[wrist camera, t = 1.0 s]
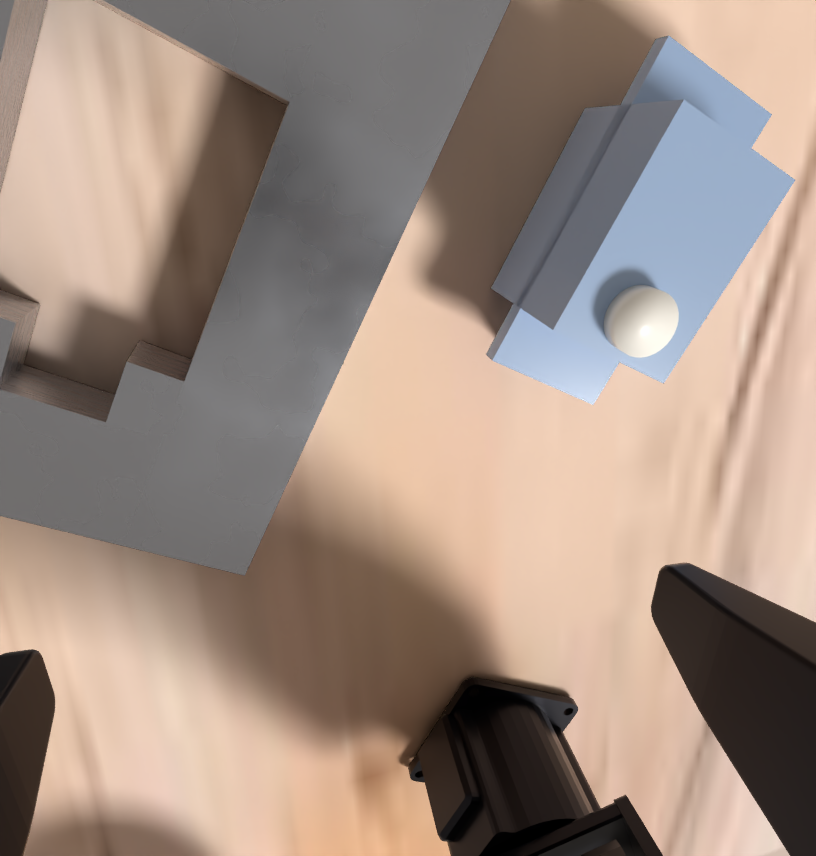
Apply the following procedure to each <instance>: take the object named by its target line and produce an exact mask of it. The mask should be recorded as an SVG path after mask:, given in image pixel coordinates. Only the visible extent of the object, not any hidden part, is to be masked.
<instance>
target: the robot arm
mask: <svg viewBox="0 0 816 856" xmlns="http://www.w3.org/2000/svg"><path fill="white" fill-rule="evenodd" d="M651 612H652V617H653V620H654V623H655V625H656V627H657V629H658V631H659V633H660V635H661V637H662V639H663V641H664V643H665V645H666V647H667V649H668V651H669V653H670V655H671V657H672V659H673V660H674V662H675V664H676V666H677V668H678V670H679V672H680V674H681V676H682V678H683V680H684V682H685V684H686V686H687V688H688V690H689V692H690V694H691V696H692V698H693V700H694V702H695V703H696V705H697V707H698V709H699V711H700V712H701V714H702V716H703V717H704V719H705V721H706V722H707V724H708V726H709V727H710V729H711V731H712V732H713V734H714V735H715V737H716V739H717V740H718V742H719V743H720V745H721V746H722V748H723V750H724V751H725V753H726V754H727V756H728V758H729V759H730V761H731V762H732V764H733V766H734V767H735V769H736V770H737V772H738V773H739V775H740V777H741V778H742V780H743V781H744V783H745V785H746V786H747V788H748V789H749V791H750V793H751V794H752V796H753V797H754V799H755V801H756V802H757V804H758V805H759V807H760V808H761V810H762V812H763V813H764V815H765V816H766V818H767V820H768V821H769V823H770V824H771V826H772V828H773V829H774V831H775V832H776V834H777V836H778V837H779V839H780V840H781V842H782V843H783V845H784V847H785V848H786V850H787V851H788V853H789V855H790V856H816V622H813V621H811V620H809V619H807V618H805V617H803V616H801V615H798V614H796V613H794V612H792V611H790V610H788V609H786V608H784V607H781V606H779V605H777V604H775V603H773V602H771V601H769V600H767V599H764V598H762V597H760V596H758V595H756V594H754V593H752V592H750V591H747V590H745V589H743V588H741V587H739V586H737V585H735V584H733V583H730V582H728V581H726V580H724V579H722V578H720V577H718V576H716V575H713V574H711V573H709V572H707V571H705V570H703V569H701V568H699V567H696V566H694V565H692V564H690V563H678V564H670V565H665V566H663V567H662V568H661V570H660V571H659V574H658V578H657V582H656V587H655V591H654V595H653V600H652V604H651ZM577 711H578V707H577V705H576V703H575V701H574V700H573V699H572V698H569V697H565V696H560V695H555V694H551V693H546V692H541V691H537V690H532V689H527V688H523V687H518V686H513V685H508V684H504V683H499V682H494V681H490V680H485V679H480V678H469V679H467V680H465V681H464V682H463V683H462V685H461V686H460V688H459V689H458V691H457V692H456V694H455V695H454V697H453V699H452V700H451V702H450V703H449V705H448V706H447V708H446V709H445V711H444V712H443V714H442V716H441V717H440V719H439V720H438V722H437V723H436V725H435V726H434V728H433V730H432V731H431V733H430V734H429V736H428V737H427V739H426V740H425V742H424V743H423V745H422V747H421V748H420V750H419V751H418V753H417V754H416V756H415V757H414V759H413V760H412V762H411V764H410V765H409V768H408V769H409V774H410V778H411V779H412V780H413V781H418V782H425V785H426V789H427V793H428V797H429V801H430V805H431V809H432V813H433V817H434V821H435V825H436V829H437V833H438V835H439V837H440V839H441V840H442V841H447V842H448V846H449V850H450V854H451V856H663V855H662V853H661V852H660V850H659V848H658V847H657V845H656V843H655V842H654V840H653V838H652V837H651V835H650V834H649V832H648V830H647V829H646V827H645V825H644V824H643V822H642V820H641V819H640V817H639V815H638V814H637V812H636V811H635V809H634V807H633V806H632V804H631V802H630V801H629V799H628V797H627V796H626V795H624V796H622V797H619V798H617V799H615V800H614V803H612V804H610V805H608V806H606V807H603V808H600V806H599V804H598V802H597V800H596V798H595V796H594V794H593V792H592V790H591V788H590V786H589V784H588V782H587V780H586V778H585V776H584V774H583V772H582V770H581V768H580V766H579V764H578V762H577V760H576V758H575V756H574V754H573V752H572V750H571V748H570V746H569V744H568V742H567V740H566V738H565V736H564V734H563V731H564V729H565V728H566V727H567V725H568V724H569V723H570V721H571V720H572V719H573V717H574V716H575V715H576V713H577ZM54 712H55V695H54V691H53V688H52V685H51V682H50V679H49V676H48V673H47V670H46V667H45V663H44V660H43V658H42V655H41V654H40V653H39V651H37V650H24V651H16V652H9V653H5V654H2V655H0V856H23V854H24V850H25V847H26V843H27V840H28V836H29V833H30V829H31V824H32V820H33V815H34V811H35V806H36V801H37V796H38V791H39V786H40V781H41V776H42V772H43V767H44V762H45V757H46V752H47V747H48V742H49V737H50V732H51V727H52V722H53V717H54Z"/></svg>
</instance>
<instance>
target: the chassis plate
mask: <svg viewBox="0 0 816 856" xmlns="http://www.w3.org/2000/svg"><path fill="white" fill-rule="evenodd" d="M94 1H96V2H98V3H99V4H101V5H103V6H105V7H107V8H109V9H111V10H112V11H114V12H116V13H118V14H120V15H122V16H123V17H125V18H127V19H129V20H131V21H133V22H134V23H136V24H138V25H140V26H142V27H144V28H146V29H147V30H149V31H151V32H153V33H155V34H157V35H158V36H160V37H162V38H164V39H166V40H168V41H169V42H171V43H173V44H175V45H177V46H179V47H181V48H182V49H184V50H186V51H188V52H190V53H192V54H193V55H195V56H197V57H199V58H201V59H203V60H205V61H206V62H208V63H210V64H212V65H214V66H216V67H217V68H219V69H221V70H223V71H225V72H227V73H228V74H230V75H232V76H234V77H236V78H238V79H240V80H241V81H243V82H245V83H247V84H249V85H251V86H252V87H254V88H256V89H258V90H260V91H262V92H263V93H265V94H267V95H269V96H271V97H273V98H275V99H276V100H278V101H280V102H282V103H284V104H286V105H287V107H286V110H285V113H284V115H283V118H282V120H281V123H280V126H279V128H278V131H277V134H276V136H275V139H274V142H273V144H272V147H271V150H270V152H269V155H268V158H267V160H266V163H265V166H264V168H263V171H262V174H261V176H260V179H259V182H258V184H257V187H256V190H255V192H254V195H253V198H252V200H251V203H250V206H249V208H248V211H247V213H246V216H245V219H244V221H243V224H242V227H241V229H240V232H239V235H238V237H237V240H236V243H235V245H234V248H233V251H232V253H231V256H230V259H229V261H228V264H227V267H226V269H225V272H224V275H223V277H222V280H221V283H220V285H219V288H218V291H217V293H216V296H215V299H214V301H213V304H212V306H211V309H210V312H209V314H208V317H207V320H206V322H205V325H204V328H203V330H202V333H201V336H200V338H199V341H198V344H197V346H196V349H195V352H194V354H193V357H192V359H190V358H187V357H184V356H182V355H179V354H176V353H173V352H171V351H168V350H165V349H162V348H160V347H157V346H154V345H151V344H149V343H146V342H143V341H140V340H139V342H138V344H137V345H136V347H135V349H134V350H133V352H132V354H131V355H130V357H129V358H128V360H127V362H126V365H125V368H124V371H123V374H122V377H121V380H120V382H119V385H118V388H117V391H116V394H112V393H109V392H106V391H103V390H100V389H97V388H94V387H91V386H88V385H84V384H81V383H78V382H75V381H72V380H69V379H66V378H63V377H60V376H57V375H54V374H51V373H48V372H45V371H42V370H39V369H36V368H33V367H30V366H27V365H24V360H25V356H26V353H27V349H28V346H29V342H30V339H31V335H32V332H33V328H34V325H35V321H36V318H37V314H38V310H39V307H40V304H39V303H36V302H33V301H30V300H28V299H25V298H22V297H19V296H17V295H14V294H11V293H8V292H6V291H3V290H0V516H3V517H7V518H11V519H15V520H20V521H24V522H28V523H32V524H36V525H40V526H44V527H48V528H52V529H56V530H60V531H64V532H69V533H73V534H77V535H81V536H85V537H89V538H93V539H97V540H101V541H105V542H109V543H113V544H118V545H122V546H126V547H130V548H134V549H138V550H142V551H146V552H150V553H154V554H158V555H162V556H167V557H171V558H175V559H179V560H183V561H187V562H191V563H195V564H199V565H203V566H207V567H211V568H216V569H220V570H224V571H228V572H232V573H236V574H240V575H244V576H245V574H246V572H247V570H248V567H249V565H250V563H251V561H252V559H253V557H254V554H255V552H256V550H257V548H258V546H259V544H260V541H261V539H262V537H263V535H264V533H265V531H266V528H267V526H268V524H269V522H270V520H271V518H272V515H273V513H274V511H275V509H276V507H277V505H278V502H279V500H280V498H281V496H282V494H283V492H284V489H285V487H286V485H287V483H288V481H289V479H290V477H291V474H292V472H293V470H294V468H295V466H296V464H297V461H298V459H299V457H300V455H301V453H302V451H303V448H304V446H305V444H306V442H307V440H308V438H309V435H310V433H311V431H312V429H313V427H314V425H315V422H316V420H317V418H318V416H319V414H320V412H321V409H322V407H323V405H324V403H325V401H326V399H327V396H328V394H329V392H330V390H331V388H332V386H333V384H334V381H335V379H336V377H337V375H338V373H339V371H340V368H341V366H342V364H343V362H344V360H345V358H346V355H347V353H348V351H349V349H350V347H351V345H352V342H353V340H354V338H355V336H356V334H357V332H358V329H359V327H360V325H361V323H362V321H363V319H364V316H365V314H366V312H367V310H368V308H369V306H370V303H371V301H372V299H373V297H374V295H375V293H376V291H377V288H378V286H379V284H380V282H381V280H382V278H383V275H384V273H385V271H386V269H387V267H388V265H389V262H390V260H391V258H392V256H393V254H394V252H395V249H396V247H397V245H398V243H399V241H400V239H401V236H402V234H403V232H404V230H405V228H406V226H407V223H408V221H409V219H410V217H411V215H412V213H413V210H414V208H415V206H416V204H417V202H418V200H419V198H420V195H421V193H422V191H423V189H424V187H425V185H426V182H427V180H428V178H429V176H430V174H431V172H432V169H433V167H434V165H435V163H436V161H437V159H438V156H439V154H440V152H441V150H442V148H443V146H444V143H445V141H446V139H447V137H448V135H449V133H450V130H451V128H452V126H453V124H454V122H455V120H456V117H457V115H458V113H459V111H460V109H461V107H462V105H463V102H464V100H465V98H466V96H467V94H468V92H469V89H470V87H471V85H472V83H473V81H474V79H475V76H476V74H477V72H478V70H479V68H480V66H481V63H482V61H483V59H484V57H485V55H486V53H487V50H488V48H489V46H490V44H491V42H492V40H493V37H494V35H495V33H496V31H497V29H498V27H499V24H500V22H501V20H502V18H503V16H504V14H505V12H506V9H507V7H508V5H509V3H510V1H511V0H94ZM46 4H47V0H0V192H1V187H2V183H3V179H4V175H5V171H6V167H7V163H8V159H9V155H10V151H11V147H12V143H13V139H14V135H15V131H16V126H17V122H18V118H19V114H20V110H21V106H22V102H23V98H24V94H25V90H26V86H27V82H28V78H29V74H30V69H31V65H32V61H33V57H34V53H35V49H36V45H37V41H38V37H39V33H40V29H41V25H42V21H43V17H44V13H45V8H46Z"/></svg>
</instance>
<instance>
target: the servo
mask: <svg viewBox="0 0 816 856" xmlns="http://www.w3.org/2000/svg"><path fill="white" fill-rule="evenodd" d="M771 115H772V114H770V113H769V112H768V111H767V110H765V109H764V108H763V107H761V106H760V105H759V104H757V103H756V102H755V101H754V100H752V99H751V98H750V97H748V96H747V95H746V94H744V93H743V92H742V91H740V90H739V89H738V88H737V87H735V86H734V85H733V84H731V83H730V82H729V81H727V80H726V79H725V78H724V77H722V76H721V75H720V74H718V73H717V72H716V71H714V70H713V69H712V68H710V67H709V66H708V65H707V64H705V63H704V62H703V61H701V60H700V59H699V58H697V57H696V56H695V55H694V54H692V53H691V52H690V51H688V50H687V49H686V48H684V47H683V46H682V45H680V44H679V43H678V42H677V41H675V40H674V39H673V38H671V37H670V36H666V37H662V38H658V39H655V41H654V43H653V45H652V47H651V49H650V51H649V52H648V54H647V56H646V58H645V60H644V62H643V64H642V65H641V67H640V69H639V71H638V73H637V75H636V77H635V78H634V80H633V82H632V84H631V86H630V88H629V90H628V92H627V93H626V95H625V97H624V99H623V101H622V103H621V105H615V106H604V107H592V108H585V109H584V111H583V113H582V115H581V117H580V119H579V120H578V122H577V124H576V126H575V128H574V130H573V132H572V134H571V136H570V138H569V140H568V142H567V143H566V145H565V147H564V149H563V151H562V153H561V155H560V157H559V159H558V161H557V163H556V164H555V166H554V168H553V170H552V172H551V174H550V176H549V178H548V180H547V182H546V184H545V186H544V187H543V189H542V191H541V193H540V195H539V197H538V199H537V201H536V203H535V205H534V207H533V209H532V210H531V212H530V214H529V216H528V218H527V220H526V222H525V224H524V226H523V228H522V230H521V232H520V233H519V235H518V237H517V239H516V241H515V243H514V245H513V247H512V249H511V251H510V253H509V255H508V256H507V258H506V260H505V262H504V264H503V266H502V268H501V270H500V272H499V274H498V276H497V278H496V279H495V281H494V283H493V285H492V287H491V289H493V290H494V291H496V292H497V293H499V294H500V295H502V296H503V297H504V298H506V299H507V300H509V301H510V302H512V303H513V305H512V307H511V309H510V311H509V313H508V314H507V316H506V318H505V320H504V322H503V324H502V326H501V327H500V329H499V331H498V333H497V335H496V337H495V339H494V340H493V342H492V344H491V346H490V348H489V350H488V352H487V353H486V355H487V356H488V357H489V358H490V359H491V360H492V361H495V362H497V363H499V364H501V365H504V366H506V367H508V368H510V369H513V370H515V371H517V372H519V373H522V374H524V375H526V376H529V377H531V378H533V379H535V380H538V381H540V382H542V383H544V384H547V385H549V386H551V387H554V388H556V389H558V390H560V391H563V392H565V393H567V394H569V395H572V396H574V397H576V398H578V399H581V400H583V401H585V402H588V403H590V404H592V405H593V404H594V403H595V401H596V400H597V398H598V396H599V395H600V393H601V391H602V390H603V388H604V387H605V385H606V383H607V382H608V380H609V378H610V377H611V375H612V374H613V372H614V370H615V369H616V367H617V365H618V364H619V362H620V363H622V364H624V365H626V366H628V367H630V368H633V369H635V370H637V371H639V372H641V373H643V374H645V375H647V376H649V377H651V378H653V379H655V380H657V381H659V382H661V383H664V382H665V381H666V379H667V378H668V376H669V374H670V373H671V371H672V370H673V368H674V367H675V365H676V364H677V362H678V361H679V359H680V357H681V356H682V354H683V353H684V351H685V350H686V348H687V347H688V345H689V344H690V342H691V340H692V339H693V337H694V336H695V334H696V333H697V331H698V330H699V328H700V327H701V325H702V323H703V322H704V320H705V319H706V317H707V316H708V314H709V313H710V311H711V310H712V308H713V306H714V305H715V303H716V302H717V300H718V299H719V297H720V296H721V294H722V293H723V291H724V290H725V288H726V286H727V285H728V283H729V282H730V280H731V279H732V277H733V276H734V274H735V273H736V271H737V269H738V268H739V266H740V265H741V263H742V262H743V260H744V259H745V257H746V256H747V254H748V252H749V251H750V249H751V248H752V246H753V245H754V243H755V242H756V240H757V239H758V237H759V235H760V234H761V232H762V231H763V229H764V228H765V226H766V225H767V223H768V222H769V220H770V218H771V217H772V215H773V214H774V212H775V211H776V209H777V208H778V206H779V205H780V203H781V201H782V200H783V198H784V197H785V195H786V194H787V192H788V191H789V189H790V188H791V186H792V184H793V183H794V181H795V179H793V178H792V177H790V176H789V175H788V174H786V173H785V172H783V171H782V170H781V169H779V168H778V167H777V166H775V165H774V164H772V163H771V162H770V161H768V160H767V159H766V158H764V157H763V156H761V155H760V154H759V153H757V152H756V151H754V150H753V149H752V146H753V144H754V143H755V141H756V139H757V138H758V136H759V135H760V133H761V131H762V130H763V128H764V126H765V125H766V123H767V122H768V120H769V118H770V117H771Z"/></svg>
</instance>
